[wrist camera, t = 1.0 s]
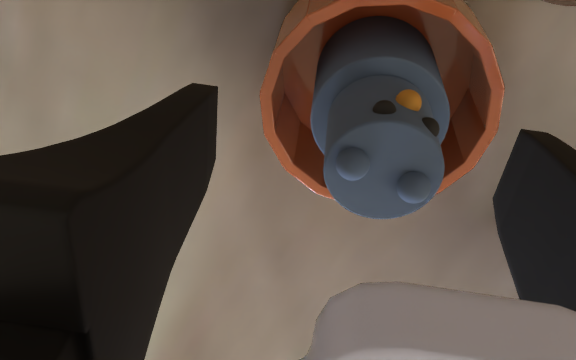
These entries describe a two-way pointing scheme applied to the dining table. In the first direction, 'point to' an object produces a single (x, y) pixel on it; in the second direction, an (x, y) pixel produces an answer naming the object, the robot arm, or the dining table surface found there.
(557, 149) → the robot arm
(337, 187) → the owl
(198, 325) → the dining table surface
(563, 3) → the coaster
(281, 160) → the orange bowl
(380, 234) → the dining table surface
